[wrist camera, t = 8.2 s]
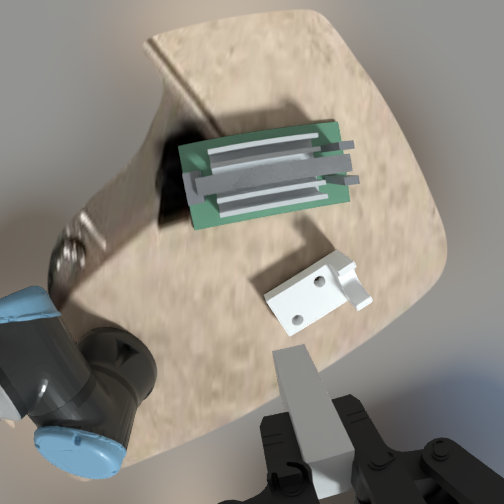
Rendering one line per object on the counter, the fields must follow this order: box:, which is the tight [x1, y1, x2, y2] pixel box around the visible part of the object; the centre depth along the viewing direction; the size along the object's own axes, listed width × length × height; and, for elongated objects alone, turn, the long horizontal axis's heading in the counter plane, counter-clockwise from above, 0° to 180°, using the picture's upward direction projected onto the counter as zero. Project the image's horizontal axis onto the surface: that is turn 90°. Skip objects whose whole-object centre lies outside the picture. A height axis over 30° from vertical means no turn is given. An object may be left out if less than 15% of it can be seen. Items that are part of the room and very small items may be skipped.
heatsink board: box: [178, 122, 360, 230], centre depth 39 cm, size 23×12×8 cm, turn 100°
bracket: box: [264, 249, 373, 337], centre depth 45 cm, size 13×7×8 cm, turn 121°
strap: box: [195, 154, 352, 197], centre depth 37 cm, size 19×2×1 cm, turn 100°
